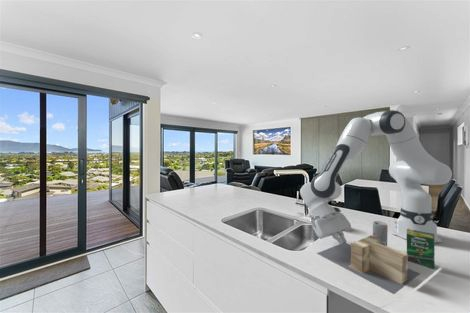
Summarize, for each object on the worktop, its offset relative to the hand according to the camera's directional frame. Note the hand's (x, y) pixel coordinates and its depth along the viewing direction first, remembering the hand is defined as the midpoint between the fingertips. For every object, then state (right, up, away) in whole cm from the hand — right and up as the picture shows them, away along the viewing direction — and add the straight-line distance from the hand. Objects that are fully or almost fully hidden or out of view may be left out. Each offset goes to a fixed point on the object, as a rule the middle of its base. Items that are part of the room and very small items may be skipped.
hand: (343, 243), depth 85 cm
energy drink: (+19, -5, +5) cm, 20 cm away
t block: (+7, -5, -12) cm, 15 cm away
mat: (+4, -5, -7) cm, 9 cm away
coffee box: (+25, -5, -7) cm, 27 cm away
